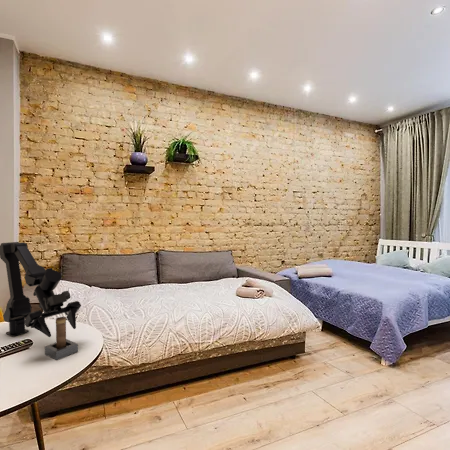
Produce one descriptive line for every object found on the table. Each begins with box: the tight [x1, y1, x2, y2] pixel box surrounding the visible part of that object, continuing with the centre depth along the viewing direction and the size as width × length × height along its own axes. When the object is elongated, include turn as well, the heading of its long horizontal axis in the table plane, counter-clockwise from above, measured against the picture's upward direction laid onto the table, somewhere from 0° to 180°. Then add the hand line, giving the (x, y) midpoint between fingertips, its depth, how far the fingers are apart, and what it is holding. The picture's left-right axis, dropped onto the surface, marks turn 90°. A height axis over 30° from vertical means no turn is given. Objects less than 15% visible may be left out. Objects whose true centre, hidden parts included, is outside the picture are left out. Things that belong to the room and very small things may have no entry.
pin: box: [55, 316, 67, 349], centre depth 115 cm, size 3×3×13 cm
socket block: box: [44, 338, 79, 361], centre depth 116 cm, size 8×8×3 cm
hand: (63, 332), depth 115 cm, fingers open, 9 cm apart
